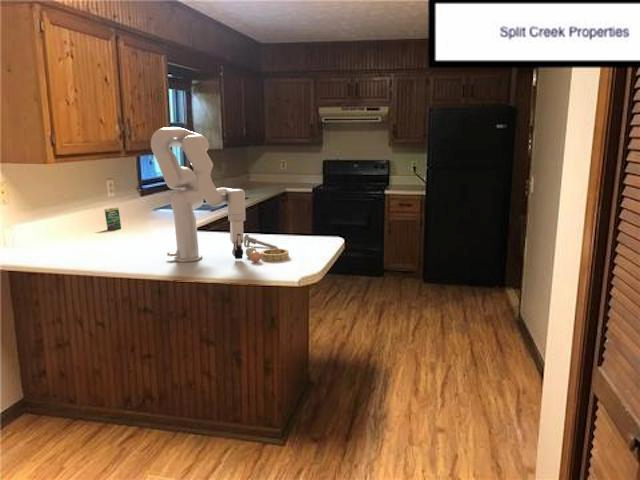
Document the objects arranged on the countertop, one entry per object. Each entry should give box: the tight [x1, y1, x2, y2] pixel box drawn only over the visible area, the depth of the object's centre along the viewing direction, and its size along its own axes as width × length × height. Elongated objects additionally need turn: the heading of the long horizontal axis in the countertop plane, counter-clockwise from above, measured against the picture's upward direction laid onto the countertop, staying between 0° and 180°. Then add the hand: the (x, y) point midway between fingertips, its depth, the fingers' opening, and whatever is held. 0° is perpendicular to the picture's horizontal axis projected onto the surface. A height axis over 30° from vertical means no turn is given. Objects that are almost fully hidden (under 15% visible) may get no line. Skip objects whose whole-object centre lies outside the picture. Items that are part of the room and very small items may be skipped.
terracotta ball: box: [249, 250, 262, 263], centre depth 229 cm, size 5×5×5 cm
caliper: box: [243, 233, 280, 249], centre depth 259 cm, size 20×1×6 cm, turn 63°
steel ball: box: [231, 248, 244, 258], centre depth 231 cm, size 5×5×5 cm
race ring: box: [260, 248, 290, 263], centre depth 236 cm, size 12×12×3 cm
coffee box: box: [104, 207, 122, 231], centre depth 317 cm, size 8×3×13 cm, turn 118°
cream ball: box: [245, 246, 257, 258], centre depth 238 cm, size 5×5×5 cm
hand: (237, 256), depth 231 cm, fingers closed on steel ball, 4 cm apart
